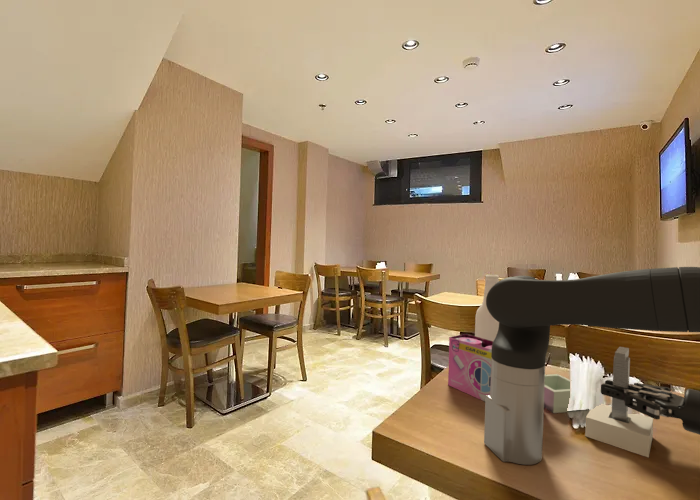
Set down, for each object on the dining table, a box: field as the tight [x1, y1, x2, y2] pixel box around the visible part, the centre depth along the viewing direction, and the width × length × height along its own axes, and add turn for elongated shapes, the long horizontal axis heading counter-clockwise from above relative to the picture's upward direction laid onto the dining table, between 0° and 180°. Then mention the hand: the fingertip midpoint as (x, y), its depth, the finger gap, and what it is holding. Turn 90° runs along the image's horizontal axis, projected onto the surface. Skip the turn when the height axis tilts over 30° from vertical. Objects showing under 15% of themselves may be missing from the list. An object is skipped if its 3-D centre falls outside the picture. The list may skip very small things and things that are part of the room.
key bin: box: [544, 373, 571, 414], centre depth 88 cm, size 10×10×5 cm
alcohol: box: [474, 274, 500, 341], centre depth 107 cm, size 9×9×30 cm
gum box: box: [447, 333, 493, 402], centre depth 89 cm, size 24×8×14 cm, turn 34°
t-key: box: [611, 346, 631, 423], centre depth 72 cm, size 6×2×18 cm, turn 136°
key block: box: [584, 403, 654, 459], centre depth 73 cm, size 10×10×4 cm
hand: (603, 386), depth 75 cm, fingers closed on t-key, 2 cm apart
